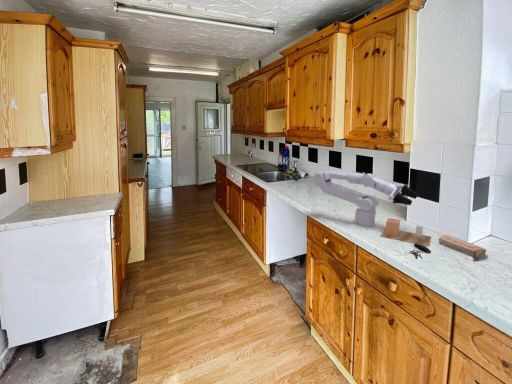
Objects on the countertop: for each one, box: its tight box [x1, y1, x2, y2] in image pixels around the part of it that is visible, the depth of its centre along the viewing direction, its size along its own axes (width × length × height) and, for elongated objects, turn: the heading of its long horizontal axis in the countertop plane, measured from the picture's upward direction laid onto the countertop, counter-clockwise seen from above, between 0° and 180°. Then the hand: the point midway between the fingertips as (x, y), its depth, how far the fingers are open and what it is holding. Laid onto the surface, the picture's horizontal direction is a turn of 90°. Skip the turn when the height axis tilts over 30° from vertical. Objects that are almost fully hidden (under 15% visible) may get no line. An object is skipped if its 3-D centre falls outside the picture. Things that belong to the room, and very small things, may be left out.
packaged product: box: [438, 234, 489, 262], centre depth 128 cm, size 18×5×10 cm
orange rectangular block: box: [384, 217, 401, 237], centre depth 143 cm, size 5×5×7 cm
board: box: [379, 227, 432, 248], centre depth 140 cm, size 20×14×1 cm
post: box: [414, 225, 424, 240], centre depth 137 cm, size 3×3×6 cm
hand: (414, 199), depth 140 cm, fingers open, 7 cm apart
